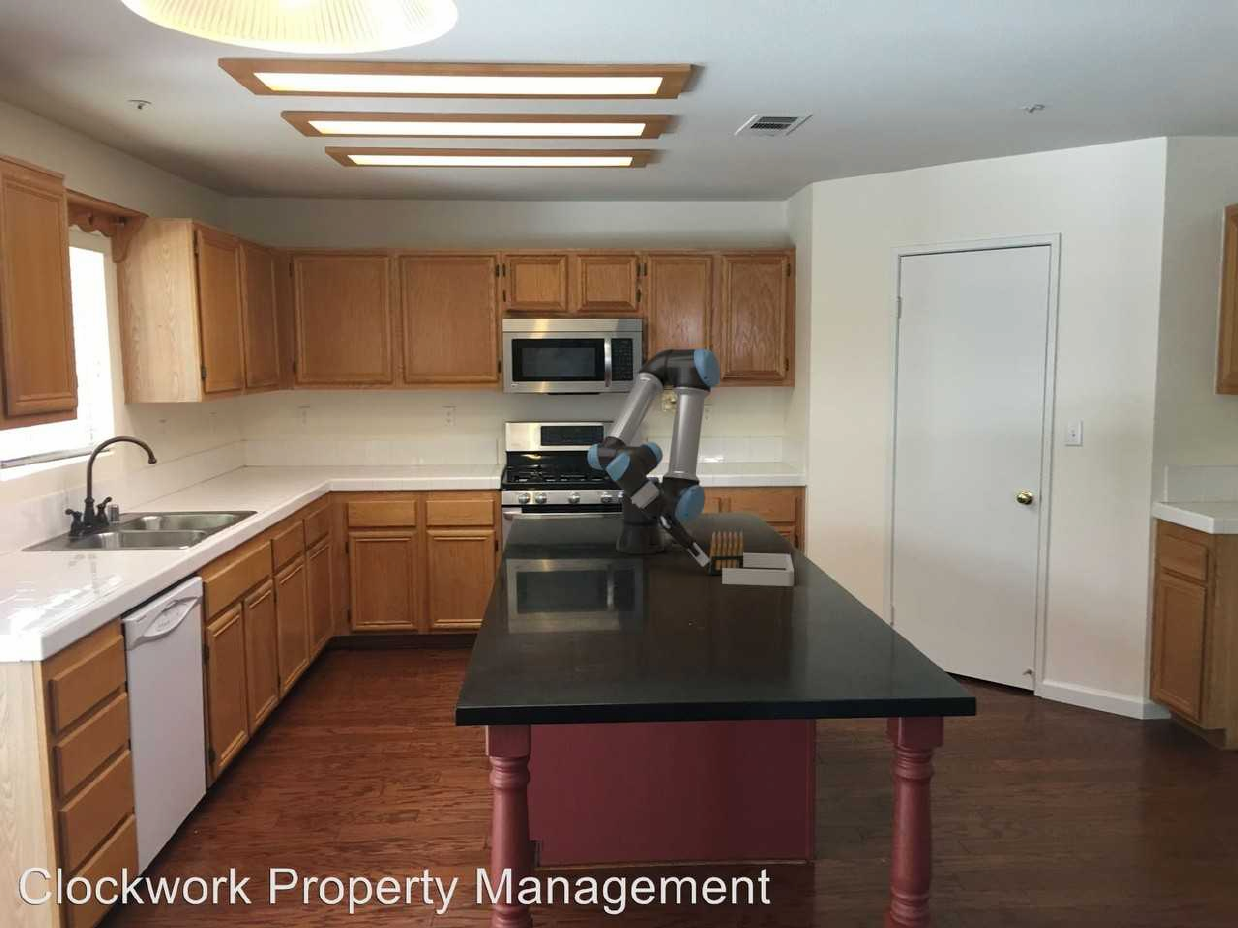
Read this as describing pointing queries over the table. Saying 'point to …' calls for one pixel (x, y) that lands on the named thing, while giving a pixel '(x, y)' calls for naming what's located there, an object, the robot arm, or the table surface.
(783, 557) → the box
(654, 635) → the table surface
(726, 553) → the ammunition clip
